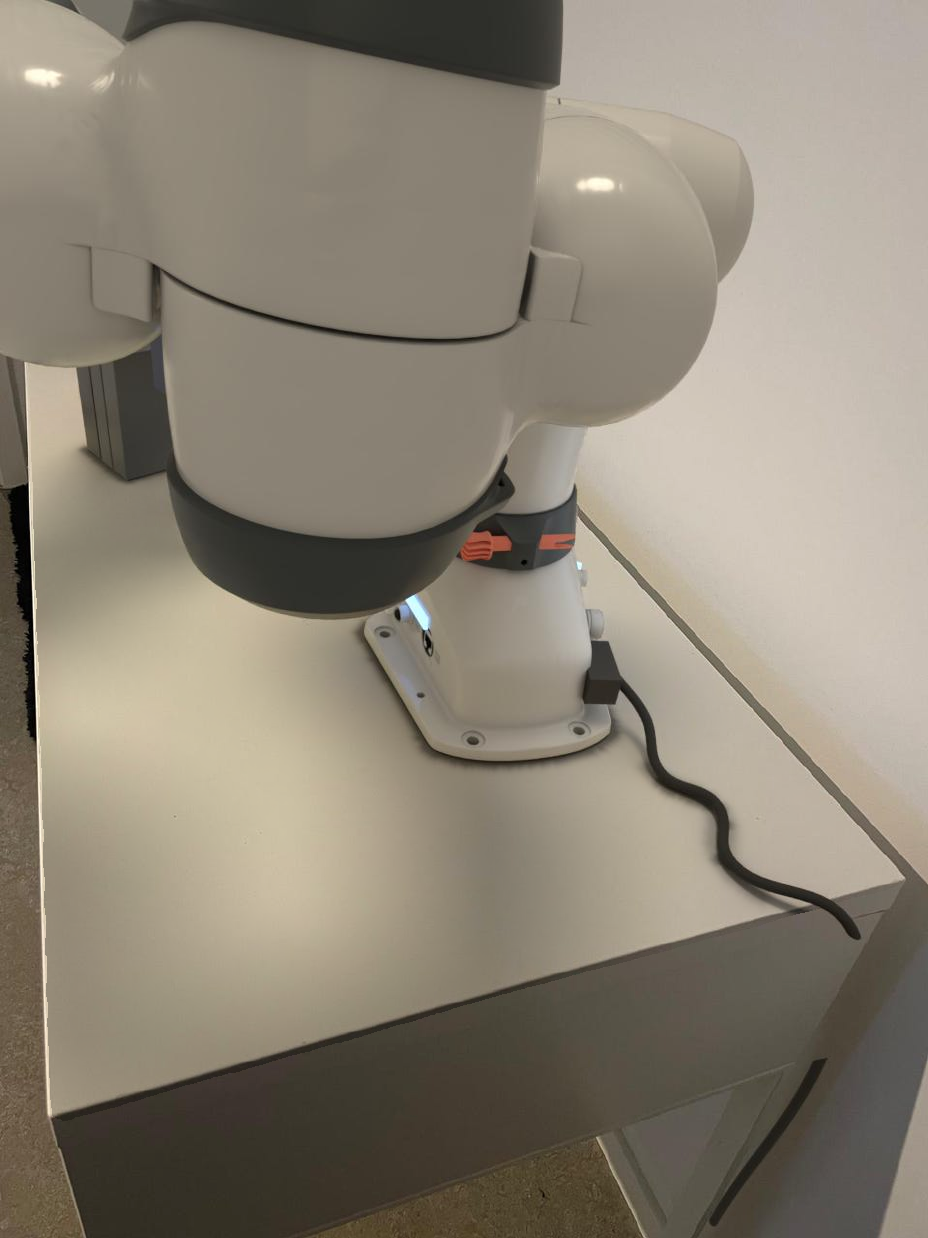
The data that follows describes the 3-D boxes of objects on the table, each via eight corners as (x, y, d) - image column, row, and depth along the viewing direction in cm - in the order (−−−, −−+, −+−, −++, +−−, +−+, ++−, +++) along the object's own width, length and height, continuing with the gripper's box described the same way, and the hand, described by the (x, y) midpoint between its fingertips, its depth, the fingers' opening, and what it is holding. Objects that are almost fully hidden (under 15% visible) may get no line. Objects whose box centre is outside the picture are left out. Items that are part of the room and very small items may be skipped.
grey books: (215, 456, 95) (209, 334, 87) (126, 480, 89) (111, 351, 81) (174, 428, 99) (165, 309, 91) (87, 449, 93) (69, 323, 85)
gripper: (-1, 143, 70) (129, 260, 82) (134, 206, 59) (261, 330, 71) (47, 78, 70) (169, 204, 82) (190, 130, 60) (307, 266, 71)
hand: (213, 263), depth 77 cm, fingers closed on navy book, 3 cm apart
